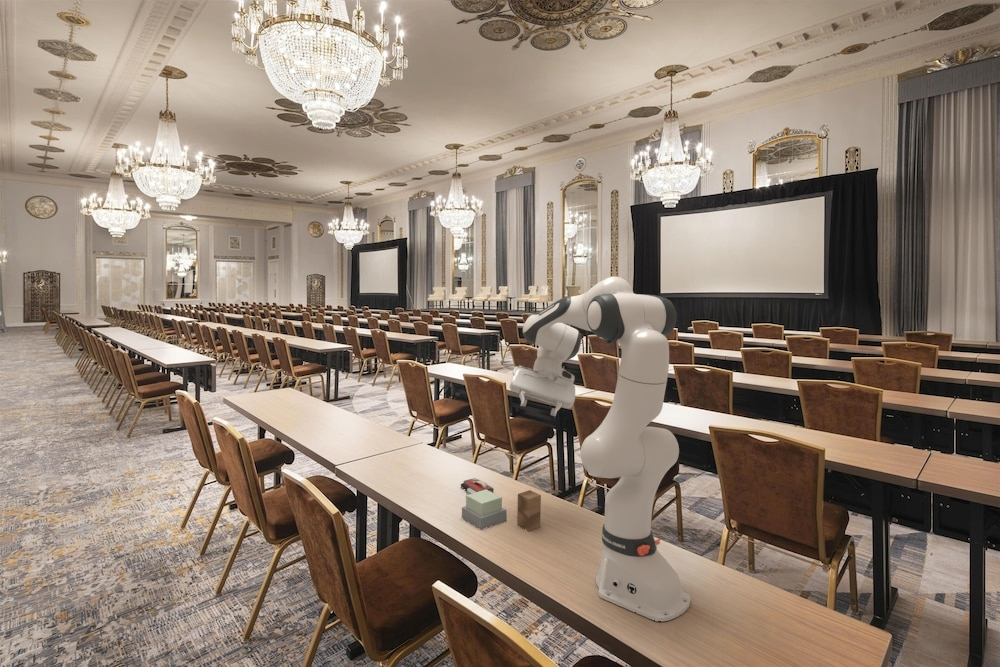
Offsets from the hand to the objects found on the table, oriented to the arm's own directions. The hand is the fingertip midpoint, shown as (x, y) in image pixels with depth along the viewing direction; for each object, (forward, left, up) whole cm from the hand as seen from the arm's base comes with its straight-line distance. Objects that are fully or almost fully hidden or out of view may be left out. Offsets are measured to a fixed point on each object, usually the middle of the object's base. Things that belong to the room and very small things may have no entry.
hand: (538, 410), depth 155 cm
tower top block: (+14, +9, -33) cm, 37 cm away
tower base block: (+14, +9, -37) cm, 40 cm away
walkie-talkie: (+30, -2, -37) cm, 48 cm away
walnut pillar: (+2, +1, -36) cm, 36 cm away
